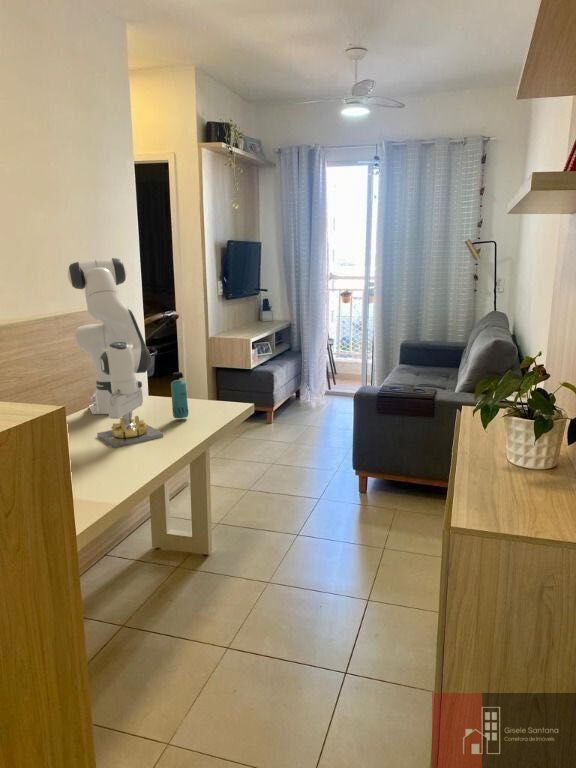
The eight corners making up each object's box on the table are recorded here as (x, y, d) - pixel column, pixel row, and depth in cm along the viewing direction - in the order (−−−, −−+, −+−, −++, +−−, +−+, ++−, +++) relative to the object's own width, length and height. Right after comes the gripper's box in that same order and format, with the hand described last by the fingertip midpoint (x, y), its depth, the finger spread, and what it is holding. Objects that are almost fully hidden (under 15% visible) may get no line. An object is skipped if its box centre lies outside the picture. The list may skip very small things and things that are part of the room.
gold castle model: (97, 436, 215) (95, 424, 214) (144, 426, 226) (143, 414, 225) (113, 448, 201) (112, 434, 200) (163, 437, 212) (162, 424, 211)
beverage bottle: (170, 421, 232) (166, 373, 228) (178, 417, 238) (174, 370, 234) (184, 422, 230) (180, 374, 225) (192, 418, 236) (188, 371, 232)
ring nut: (111, 430, 216) (109, 412, 215) (144, 425, 221) (142, 408, 219) (114, 439, 205) (112, 421, 203) (148, 434, 209) (147, 416, 208)
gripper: (118, 394, 194) (122, 432, 197) (144, 381, 213) (147, 416, 216) (101, 394, 195) (106, 432, 198) (128, 381, 215) (132, 416, 218)
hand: (128, 424), depth 207 cm, fingers closed
